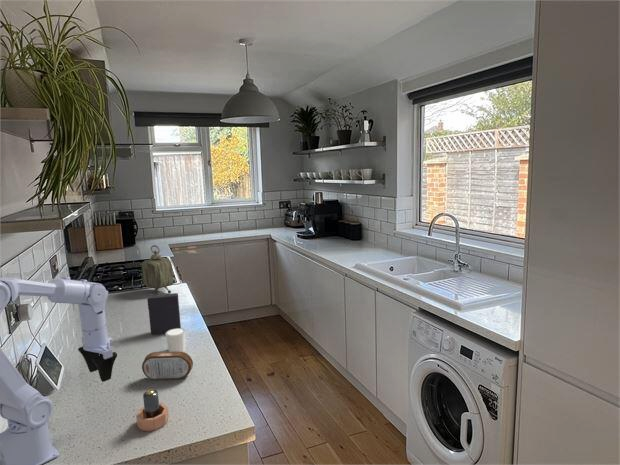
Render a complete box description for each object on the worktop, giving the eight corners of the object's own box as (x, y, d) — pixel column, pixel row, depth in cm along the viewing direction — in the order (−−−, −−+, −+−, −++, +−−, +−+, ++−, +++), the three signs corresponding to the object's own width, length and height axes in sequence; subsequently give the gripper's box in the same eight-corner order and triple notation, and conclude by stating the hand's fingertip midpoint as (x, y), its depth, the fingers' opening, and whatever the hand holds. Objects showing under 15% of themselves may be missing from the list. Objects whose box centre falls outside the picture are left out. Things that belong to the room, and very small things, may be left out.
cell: (149, 426, 102) (146, 397, 101) (143, 420, 105) (140, 391, 103) (162, 419, 105) (160, 391, 103) (156, 414, 107) (153, 386, 106)
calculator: (181, 327, 164) (178, 292, 162) (180, 332, 160) (177, 295, 158) (152, 331, 162) (148, 295, 159) (150, 335, 158) (147, 298, 155)
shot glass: (187, 344, 149) (186, 326, 148) (186, 353, 142) (184, 334, 141) (168, 347, 148) (166, 328, 146) (165, 355, 141) (164, 336, 140)
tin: (194, 374, 128) (192, 349, 127) (191, 379, 125) (189, 354, 123) (145, 376, 128) (143, 351, 126) (142, 381, 125) (139, 356, 123)
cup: (146, 435, 100) (145, 424, 99) (133, 423, 105) (132, 412, 104) (173, 420, 105) (172, 410, 105) (159, 410, 110) (158, 400, 109)
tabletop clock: (174, 293, 209) (170, 245, 204) (159, 298, 202) (154, 248, 197) (158, 288, 217) (153, 242, 213) (142, 293, 210) (137, 245, 206)
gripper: (122, 329, 104) (127, 378, 107) (98, 316, 114) (104, 361, 116) (93, 338, 99) (99, 389, 101) (71, 323, 109) (77, 371, 111)
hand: (100, 375), depth 108 cm, fingers open, 7 cm apart
